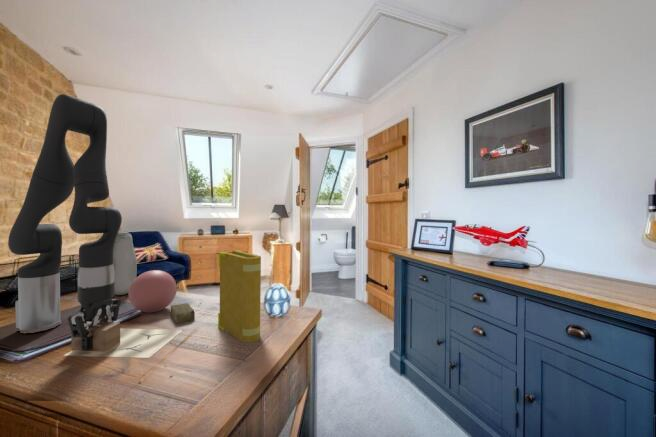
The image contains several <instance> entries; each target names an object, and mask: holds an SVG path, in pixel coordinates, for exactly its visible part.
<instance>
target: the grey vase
mask: <svg viewBox="0 0 656 437" xmlns="http://www.w3.org/2000/svg"><path fill="white" fill-rule="evenodd" d="M137 261H138V259H137V252H136V251H135V247H134V243H133V236H132V234H131V233H130V232H128V231H123V230H122V231H118V234H117V237H116V240H115V244H114V249H113V267H114V296H124V295H128V293H129V288H130V286H131V284H132V282H133V281H134V280H135V279H136V278H137V277H138V276H137V274H138V272H137V270H138V269H137V268H138V267H137V264H138V263H137Z"/></svg>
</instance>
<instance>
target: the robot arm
mask: <svg viewBox="0 0 656 437" xmlns="http://www.w3.org/2000/svg"><path fill="white" fill-rule="evenodd" d="M52 103H53V104H52V106H51V109H50V114H49V118H48V123H47V126H46V132H45V136H44V141H43V144H42V147H41V150H40V153H39V156H38V159H37V161H36V164H35V166H34V169H33V172H32V174H31V178H30V182H29V185H28V189H27V192H26V195H25V198H24V201H23V204H22V207H21V208H20V211H19V213H18V215H17V217H16V218H15V220H14V223H13V226H12V227H11V229H10V232H9V235H8V243H7V245H8V249H9V251H10V252H11V253H12V254H14V255H18V256H28V255H36V254H39V256H38V257H37V258H36V259H34V260H32V261H31V262H29V263H26V264H25V265H22V266H20V267H18V269H17V289H18V292H17V293H18V297H17V298H18V300H15V302H14V303H15V305H14V306H15V307H14V308H15V309H14V310H15V329H16V328H19V329H20V330H33V329H40V328H45V327H49V326H52V325H54V324H56V323H58V322H60V323H61V283H60V282H61V280H60V276H61V275H60V273H61V272H60V268H61V264H62V250H63V248H62V247H63V234H62V231H61V228H60V227H59V226H58V225H57V224H54V223H41V221H42V220H43V219H44V218H45V217H46V216H47V215H48V214H49V213H50V212H51V211H53V210H55V209H56V208H57V207H59V206H60V205H62V204H63V203H64V202H65V201H67V200H68V199H69V197H71V195H72V193H73V191H74V200H73V206H72V209H71V211H70V215H69V219H68V225H69V227H70V229H71V230H72V231H73V232H74V234H77V235H88V234H89V235H91V234H102V236H101V237H100V238H99V239H97V240H94V241H89V242H85V243H83V244H81V245H80V246H79V248H78V272H77V302H78V303H79V304H80V308H79V312H78V313H77V314H75V315H70V316H69V317H68V319H67V320H68V323H69V329H70V333H71V332H72V336H73V337H75V338H76V337H79V338H81V348H82V350H83V351H90V350H92V349H93V336H92V334H93V330H94V327H96V326H97V322H117V320H118V317H119V316H118V315H119V311H120V305H121V299H120V298H119V299H118V298H114V297H115V294H114V267H113V249H114V244H115V240H116V237H117V234H118V232H120V231H119V230H120V229H121V225H122V221H123V218H122V217H123V216H122V214H121V212H120V211H119V209H118V208H116V207H113V206H88V205H89V204H92V203H96V202H97V203H98V202H102V201H105V200H107V199H108V198H109V196H110V189H109V183H108V175H107V169H106V168H107V166H106V158H107V140H108V137H107V136H108V118H107V114H106V111H105V110H104V109H103V108H102V107H101V106H99V105H97V104H95V103H91V102H89V101H86V100H83V99H81V98H78V97H75V96H72V95H70V94H64V93H63V94H62V93H61V94H59V95H57V97H56V98H55V99H54V101H53V102H52ZM68 131H70V132H74V133H76V134H77V133H78V134H81V135H85V136H88V137H89V145H88V147H87V148H86V150H85V151H84V152H83V153H82V154H81V156H80V157H79V158H78V159H77V160H76V161H75V164H74V162H73V160H72V158H71V155H70V154H69V152H68V149H67V145H66V136H67V132H68ZM112 313H113V315H112ZM87 321H88V322H92V323H91V324H89V323H87ZM87 327H89V328H88V332H86V328H87ZM78 331H79V332H78Z"/></svg>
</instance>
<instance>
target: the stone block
mask: <svg viewBox="0 0 656 437" xmlns="http://www.w3.org/2000/svg"><path fill="white" fill-rule="evenodd" d="M195 312H196V311H195V310H194V309H193V308H192V306H191V305H190V304H189V303H187V302H186V303H179V304H172V305H170V315H169V316H170V318H171V320H173V321H174V322H175V324H177V325H178V324H179V325H180V324H184V323H188V322H192V321H193V322H194V321H195V319H196V315H195Z"/></svg>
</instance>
